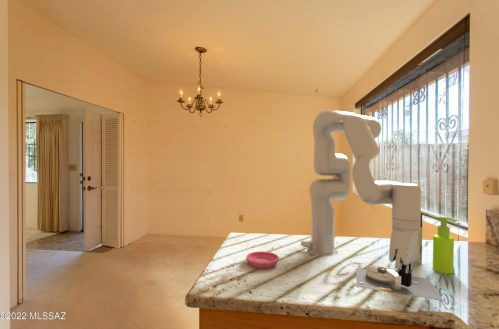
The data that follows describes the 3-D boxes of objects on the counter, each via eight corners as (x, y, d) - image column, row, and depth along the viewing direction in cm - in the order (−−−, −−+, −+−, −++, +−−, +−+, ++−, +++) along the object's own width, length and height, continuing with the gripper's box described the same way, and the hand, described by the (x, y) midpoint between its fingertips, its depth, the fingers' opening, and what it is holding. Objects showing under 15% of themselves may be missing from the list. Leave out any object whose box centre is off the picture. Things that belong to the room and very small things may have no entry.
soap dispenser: (450, 279, 91) (452, 220, 90) (429, 272, 97) (430, 216, 97) (460, 276, 93) (461, 218, 93) (438, 269, 100) (439, 214, 99)
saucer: (252, 257, 111) (252, 249, 111) (282, 261, 107) (282, 253, 107) (241, 268, 99) (241, 259, 99) (274, 273, 95) (274, 264, 95)
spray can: (424, 268, 100) (425, 214, 100) (404, 267, 101) (405, 213, 101) (417, 262, 106) (418, 211, 106) (398, 260, 108) (399, 210, 108)
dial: (360, 271, 93) (360, 259, 93) (389, 271, 94) (389, 259, 94) (381, 290, 80) (381, 276, 80) (414, 289, 80) (414, 276, 80)
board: (356, 290, 82) (356, 285, 82) (355, 269, 98) (355, 266, 98) (442, 304, 75) (442, 299, 75) (426, 279, 90) (426, 275, 90)
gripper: (403, 219, 89) (402, 274, 90) (381, 225, 80) (380, 287, 80) (429, 223, 83) (428, 282, 84) (408, 230, 74) (407, 297, 75)
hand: (404, 284), depth 82 cm, fingers closed
